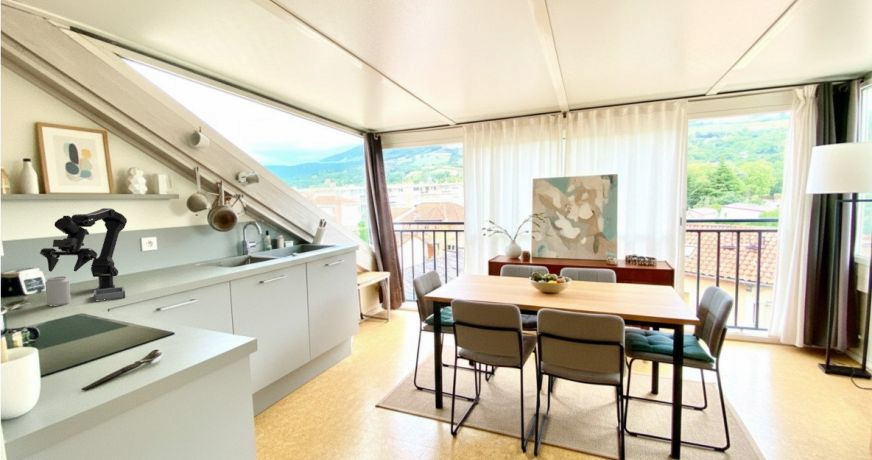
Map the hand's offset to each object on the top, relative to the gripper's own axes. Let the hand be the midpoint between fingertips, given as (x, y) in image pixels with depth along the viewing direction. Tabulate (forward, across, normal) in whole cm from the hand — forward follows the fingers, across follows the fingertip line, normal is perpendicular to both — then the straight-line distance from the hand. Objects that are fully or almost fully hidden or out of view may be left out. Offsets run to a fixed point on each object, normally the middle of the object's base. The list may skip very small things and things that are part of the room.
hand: (62, 271), depth 166 cm
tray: (+6, +11, +17) cm, 22 cm away
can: (+12, -2, +9) cm, 15 cm away
